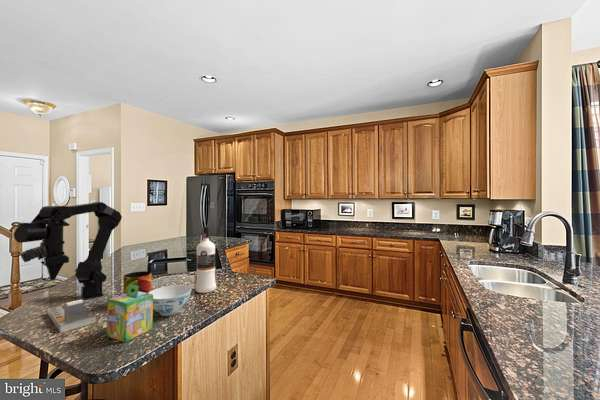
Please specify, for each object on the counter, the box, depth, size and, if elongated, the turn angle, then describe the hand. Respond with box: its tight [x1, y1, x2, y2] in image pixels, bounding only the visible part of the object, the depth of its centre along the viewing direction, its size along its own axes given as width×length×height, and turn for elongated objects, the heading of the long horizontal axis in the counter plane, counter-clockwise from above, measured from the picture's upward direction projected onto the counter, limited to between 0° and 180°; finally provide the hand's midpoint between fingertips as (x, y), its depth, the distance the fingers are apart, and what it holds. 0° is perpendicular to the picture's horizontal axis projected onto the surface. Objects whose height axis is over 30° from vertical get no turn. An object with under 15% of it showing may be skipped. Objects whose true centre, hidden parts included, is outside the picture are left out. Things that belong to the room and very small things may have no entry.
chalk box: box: [106, 285, 154, 343], centre depth 81 cm, size 9×9×15 cm
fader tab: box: [64, 298, 86, 319], centre depth 88 cm, size 5×3×5 cm, turn 142°
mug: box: [122, 270, 152, 295], centre depth 106 cm, size 10×14×12 cm
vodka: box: [194, 226, 217, 294], centre depth 120 cm, size 9×9×30 cm
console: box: [47, 304, 97, 333], centre depth 91 cm, size 9×22×4 cm, turn 52°
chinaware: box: [149, 284, 192, 317], centre depth 96 cm, size 15×15×8 cm
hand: (52, 279), depth 97 cm, fingers closed
